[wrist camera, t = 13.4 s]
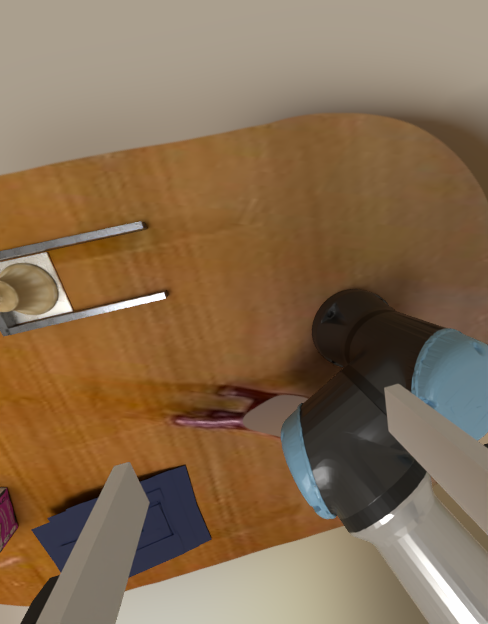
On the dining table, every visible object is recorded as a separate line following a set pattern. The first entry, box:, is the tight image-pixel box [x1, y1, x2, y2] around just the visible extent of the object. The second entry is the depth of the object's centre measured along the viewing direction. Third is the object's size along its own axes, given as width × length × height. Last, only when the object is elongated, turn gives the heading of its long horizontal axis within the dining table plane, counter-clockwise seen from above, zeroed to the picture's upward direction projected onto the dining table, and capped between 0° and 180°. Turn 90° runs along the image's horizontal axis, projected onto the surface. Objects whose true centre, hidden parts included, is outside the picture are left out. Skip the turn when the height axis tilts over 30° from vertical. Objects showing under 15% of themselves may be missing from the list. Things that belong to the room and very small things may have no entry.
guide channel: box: [0, 221, 168, 336], centre depth 36 cm, size 12×26×2 cm, turn 102°
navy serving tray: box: [32, 466, 211, 578], centre depth 50 cm, size 24×30×4 cm
